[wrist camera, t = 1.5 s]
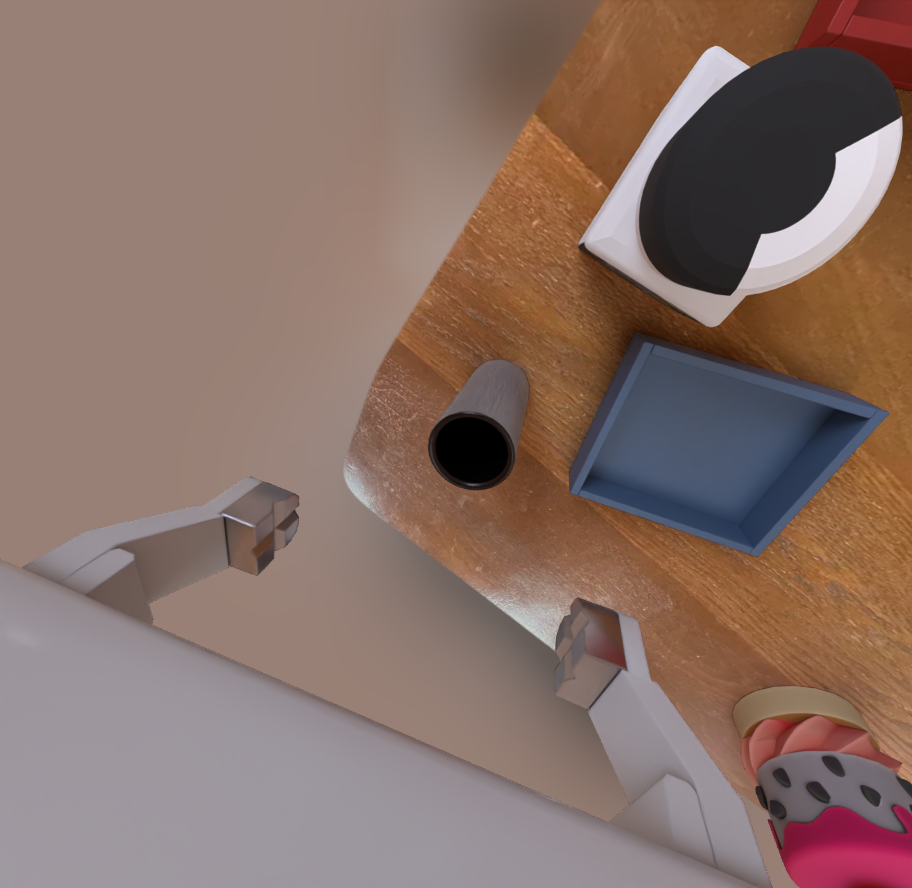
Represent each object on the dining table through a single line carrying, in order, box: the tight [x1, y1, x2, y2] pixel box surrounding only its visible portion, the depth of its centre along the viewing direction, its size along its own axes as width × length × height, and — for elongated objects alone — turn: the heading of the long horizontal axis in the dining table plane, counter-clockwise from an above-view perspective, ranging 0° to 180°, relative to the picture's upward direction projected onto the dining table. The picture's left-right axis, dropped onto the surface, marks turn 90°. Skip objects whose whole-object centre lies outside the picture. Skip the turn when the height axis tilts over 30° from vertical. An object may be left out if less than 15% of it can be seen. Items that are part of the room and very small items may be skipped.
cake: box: [732, 686, 912, 888], centre depth 28 cm, size 10×11×15 cm
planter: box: [428, 360, 529, 490], centre depth 23 cm, size 4×4×10 cm
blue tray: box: [569, 332, 889, 557], centre depth 24 cm, size 13×11×3 cm
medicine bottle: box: [578, 46, 902, 327], centre depth 16 cm, size 7×7×12 cm
